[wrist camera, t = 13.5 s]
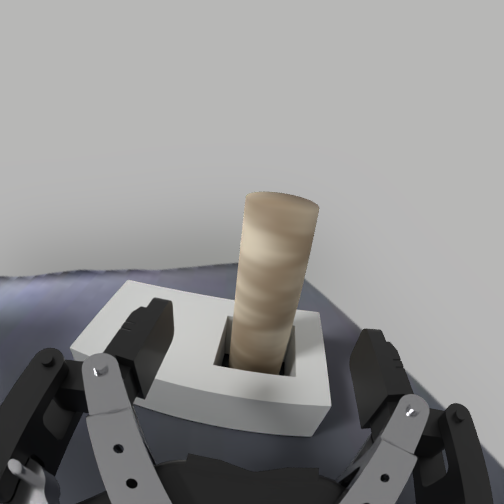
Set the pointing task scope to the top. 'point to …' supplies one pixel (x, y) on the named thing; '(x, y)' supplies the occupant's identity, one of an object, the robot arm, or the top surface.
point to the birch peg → (270, 278)
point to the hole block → (209, 365)
